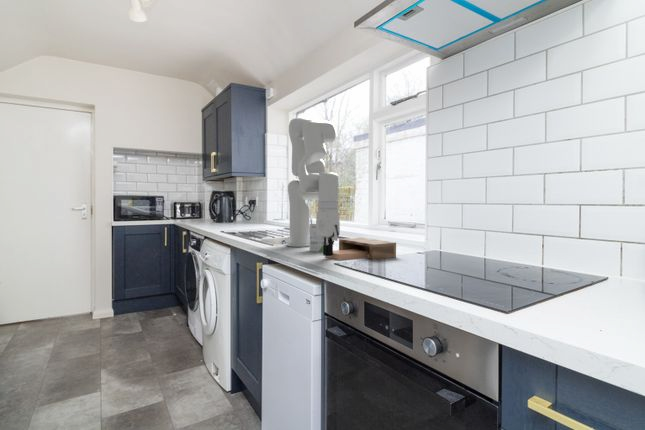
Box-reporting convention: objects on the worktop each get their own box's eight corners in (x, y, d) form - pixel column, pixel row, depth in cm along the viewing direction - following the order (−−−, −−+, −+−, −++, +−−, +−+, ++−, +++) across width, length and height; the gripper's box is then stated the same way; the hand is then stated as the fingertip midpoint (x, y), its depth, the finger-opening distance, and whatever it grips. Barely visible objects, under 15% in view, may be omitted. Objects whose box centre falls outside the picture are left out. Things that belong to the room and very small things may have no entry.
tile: (325, 257, 134) (325, 251, 134) (354, 254, 141) (354, 248, 141) (338, 261, 126) (338, 254, 126) (368, 257, 134) (368, 251, 134)
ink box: (309, 251, 148) (309, 223, 147) (310, 249, 153) (310, 223, 153) (329, 251, 147) (329, 224, 147) (330, 250, 152) (330, 223, 152)
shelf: (338, 252, 146) (339, 238, 145) (359, 250, 152) (360, 237, 152) (373, 259, 127) (373, 244, 127) (395, 257, 133) (396, 242, 133)
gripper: (309, 206, 133) (309, 253, 134) (330, 206, 120) (330, 259, 121) (325, 206, 137) (325, 252, 138) (348, 206, 124) (348, 257, 125)
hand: (328, 255), depth 129 cm, fingers closed
